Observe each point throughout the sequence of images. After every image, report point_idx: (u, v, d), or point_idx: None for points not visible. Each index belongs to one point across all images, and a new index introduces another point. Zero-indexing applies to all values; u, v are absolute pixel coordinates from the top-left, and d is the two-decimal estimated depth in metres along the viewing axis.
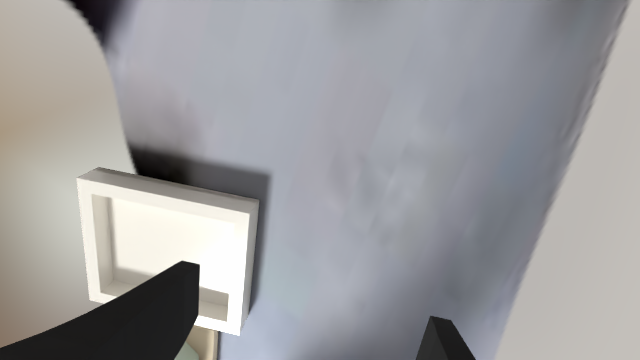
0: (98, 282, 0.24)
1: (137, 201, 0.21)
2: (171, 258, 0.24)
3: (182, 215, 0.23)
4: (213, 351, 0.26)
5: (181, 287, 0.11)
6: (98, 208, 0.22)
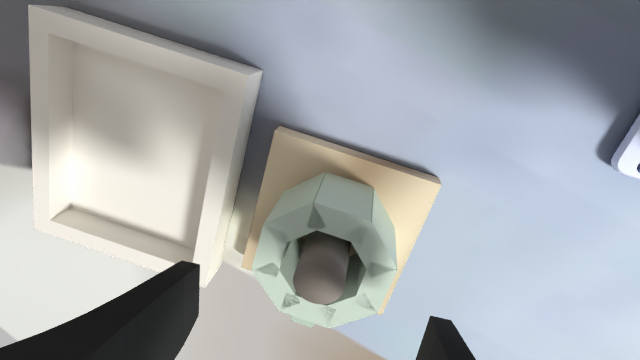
0: (174, 263, 0.17)
1: (46, 165, 0.17)
2: (159, 160, 0.17)
3: (93, 123, 0.17)
4: (320, 144, 0.15)
5: (181, 287, 0.11)
6: (80, 223, 0.18)
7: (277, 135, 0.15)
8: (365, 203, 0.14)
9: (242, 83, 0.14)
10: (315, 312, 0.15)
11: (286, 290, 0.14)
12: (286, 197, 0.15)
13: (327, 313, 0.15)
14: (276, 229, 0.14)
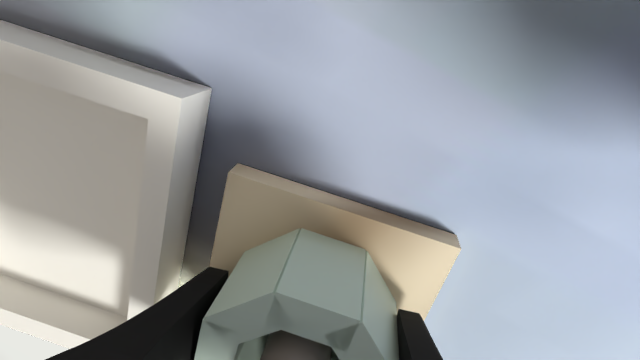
0: None
1: None
2: (78, 207, 0.13)
3: None
4: (292, 191, 0.11)
5: (212, 294, 0.10)
6: None
7: (232, 178, 0.11)
8: (353, 283, 0.10)
9: (174, 110, 0.10)
10: None
11: None
12: (244, 266, 0.11)
13: None
14: (222, 326, 0.09)
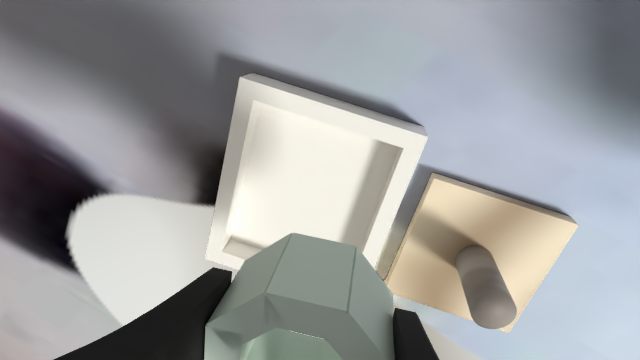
0: None
1: (228, 206, 0.19)
2: (320, 200, 0.20)
3: (265, 169, 0.20)
4: (473, 190, 0.18)
5: (216, 295, 0.10)
6: (245, 253, 0.21)
7: (436, 182, 0.18)
8: (342, 278, 0.10)
9: (421, 143, 0.17)
10: None
11: None
12: (243, 274, 0.12)
13: None
14: (224, 329, 0.10)
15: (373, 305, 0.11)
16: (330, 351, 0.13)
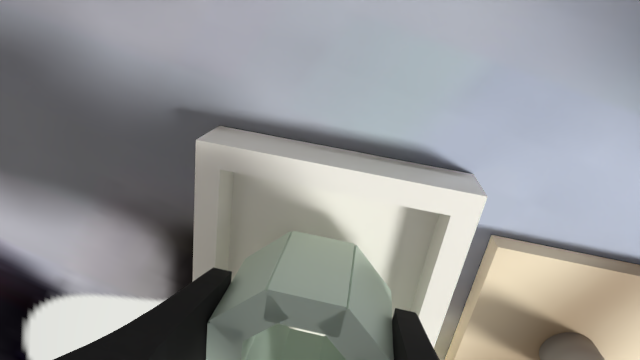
0: None
1: None
2: None
3: (254, 252, 0.14)
4: (558, 258, 0.12)
5: (216, 295, 0.10)
6: None
7: (501, 252, 0.12)
8: (341, 275, 0.10)
9: (477, 206, 0.11)
10: None
11: None
12: (243, 272, 0.12)
13: None
14: (225, 326, 0.10)
15: (372, 302, 0.11)
16: (329, 347, 0.13)
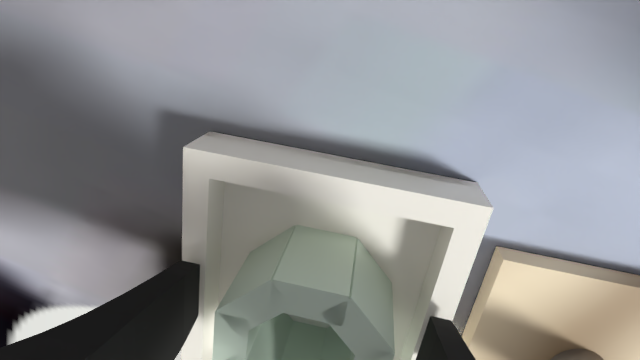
0: None
1: (200, 326, 0.13)
2: None
3: None
4: (567, 271, 0.12)
5: (181, 287, 0.11)
6: None
7: (507, 265, 0.12)
8: (344, 266, 0.11)
9: (482, 218, 0.10)
10: None
11: None
12: (249, 264, 0.12)
13: None
14: (232, 315, 0.10)
15: (374, 292, 0.11)
16: (332, 338, 0.13)
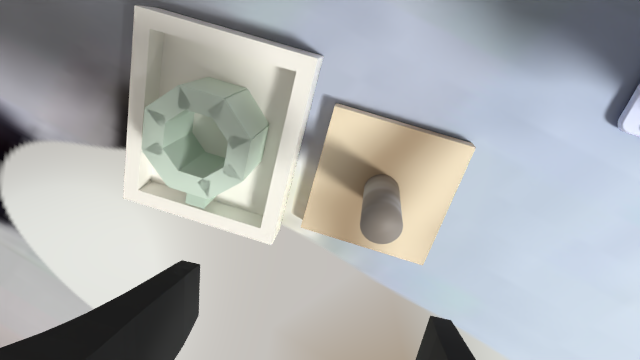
0: (245, 224, 0.20)
1: (139, 141, 0.20)
2: None
3: None
4: (373, 117, 0.18)
5: (181, 287, 0.11)
6: (162, 192, 0.21)
7: (336, 110, 0.18)
8: (229, 92, 0.17)
9: (312, 65, 0.17)
10: (195, 185, 0.18)
11: (170, 167, 0.18)
12: None
13: (205, 185, 0.18)
14: (155, 111, 0.17)
15: (247, 113, 0.18)
16: None
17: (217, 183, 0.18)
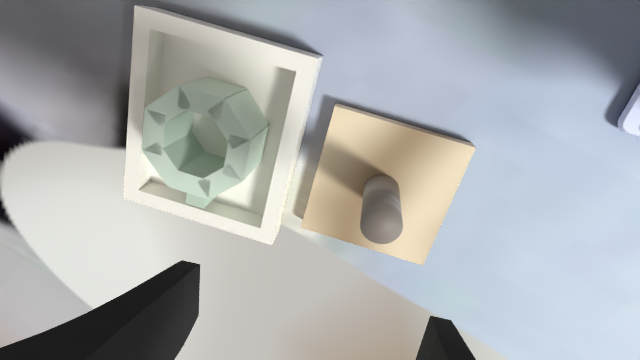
0: (245, 224, 0.20)
1: (139, 141, 0.20)
2: None
3: None
4: (373, 117, 0.18)
5: (181, 287, 0.11)
6: (162, 192, 0.21)
7: (336, 110, 0.18)
8: (229, 92, 0.17)
9: (312, 65, 0.17)
10: (195, 185, 0.18)
11: (170, 167, 0.18)
12: None
13: (205, 185, 0.18)
14: (155, 111, 0.17)
15: (247, 113, 0.18)
16: None
17: (217, 183, 0.18)
